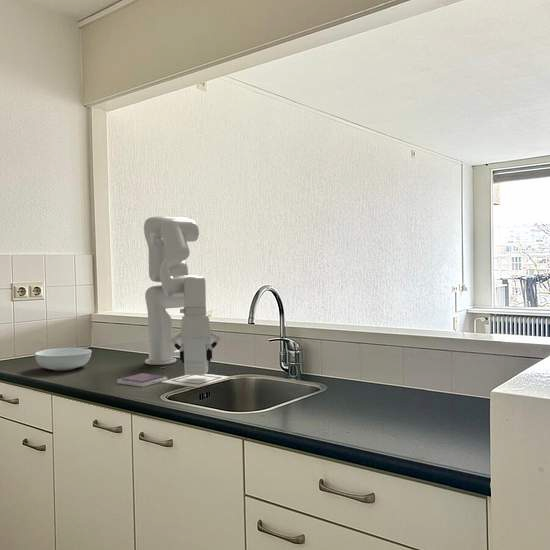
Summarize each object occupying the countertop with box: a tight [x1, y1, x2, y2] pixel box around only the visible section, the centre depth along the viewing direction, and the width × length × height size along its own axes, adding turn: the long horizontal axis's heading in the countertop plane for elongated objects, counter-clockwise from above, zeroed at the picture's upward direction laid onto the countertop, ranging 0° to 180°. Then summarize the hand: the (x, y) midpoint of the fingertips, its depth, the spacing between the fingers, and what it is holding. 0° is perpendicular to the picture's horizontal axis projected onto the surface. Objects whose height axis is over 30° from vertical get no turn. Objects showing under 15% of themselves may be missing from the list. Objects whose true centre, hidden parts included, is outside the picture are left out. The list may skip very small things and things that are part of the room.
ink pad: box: [116, 373, 168, 388], centre depth 198 cm, size 12×12×2 cm
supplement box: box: [183, 338, 209, 376], centre depth 199 cm, size 7×7×13 cm
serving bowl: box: [34, 347, 92, 372], centre depth 225 cm, size 21×21×7 cm
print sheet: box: [160, 373, 231, 389], centre depth 199 cm, size 18×16×1 cm
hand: (196, 361), depth 199 cm, fingers closed on supplement box, 8 cm apart
